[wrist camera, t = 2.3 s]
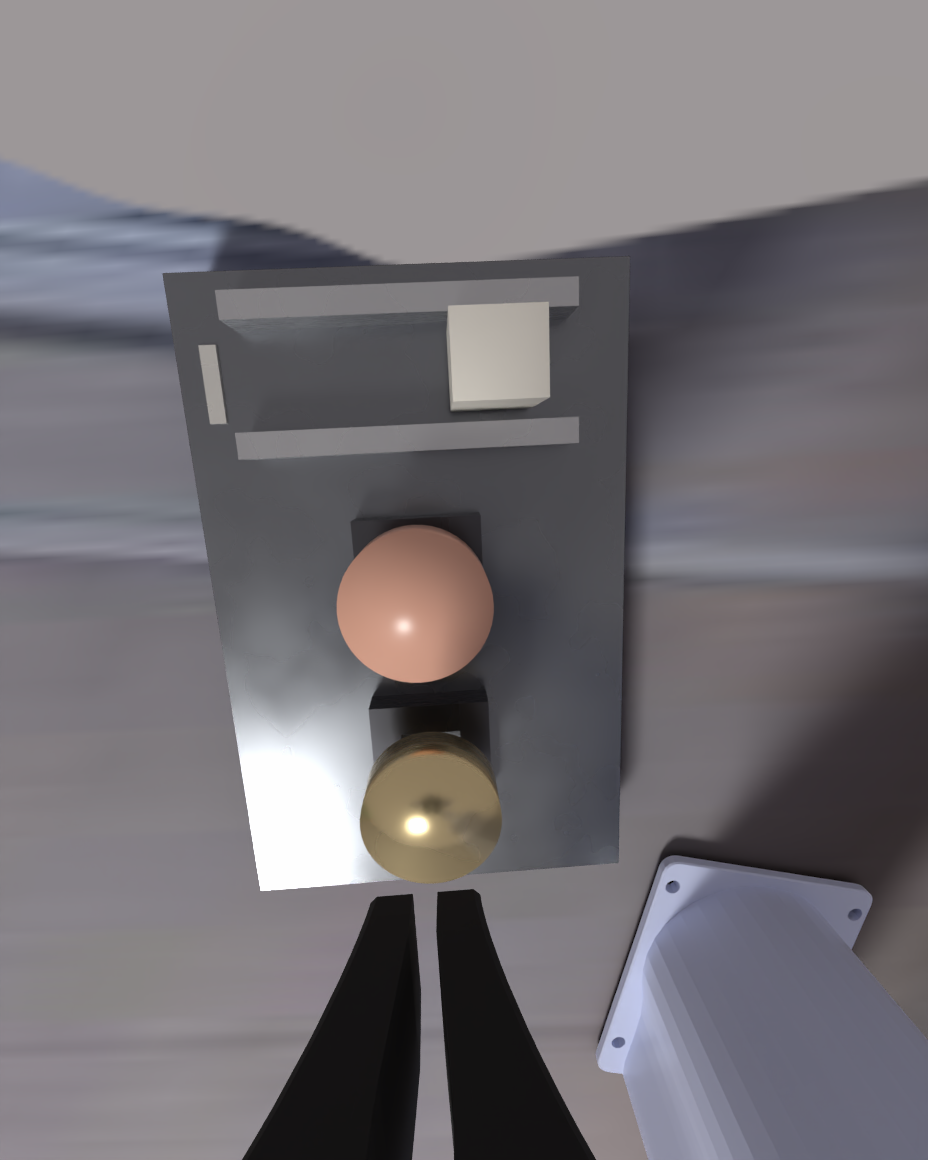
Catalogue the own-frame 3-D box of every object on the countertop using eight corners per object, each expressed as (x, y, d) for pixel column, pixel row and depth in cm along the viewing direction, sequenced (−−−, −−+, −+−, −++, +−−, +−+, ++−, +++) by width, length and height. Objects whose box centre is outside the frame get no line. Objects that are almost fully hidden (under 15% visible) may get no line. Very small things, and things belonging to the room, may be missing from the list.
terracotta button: (487, 644, 13) (496, 678, 11) (359, 652, 13) (344, 687, 11) (482, 516, 12) (490, 527, 10) (346, 523, 12) (328, 536, 10)
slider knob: (531, 408, 13) (550, 397, 11) (450, 411, 13) (453, 401, 11) (529, 328, 13) (548, 301, 10) (446, 332, 12) (447, 305, 10)
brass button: (494, 818, 14) (504, 877, 12) (376, 826, 14) (366, 888, 12) (490, 710, 14) (499, 754, 12) (366, 718, 13) (353, 764, 11)
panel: (599, 820, 18) (629, 888, 15) (280, 844, 18) (249, 918, 15) (604, 284, 15) (646, 238, 12) (200, 299, 14) (138, 256, 11)
